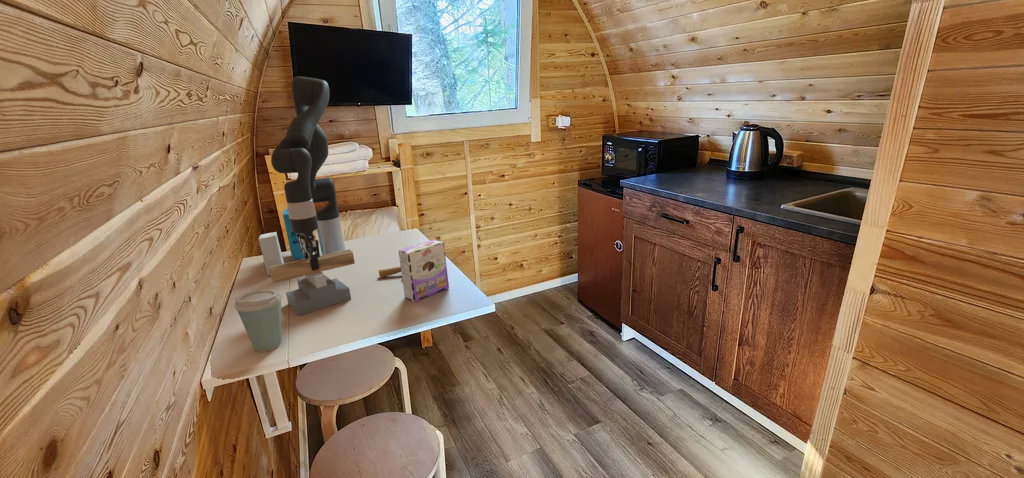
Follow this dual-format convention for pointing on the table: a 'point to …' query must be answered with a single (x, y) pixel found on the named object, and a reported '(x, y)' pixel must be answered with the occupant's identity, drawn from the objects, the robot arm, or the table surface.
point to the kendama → (389, 271)
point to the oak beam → (304, 265)
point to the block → (292, 238)
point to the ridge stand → (317, 293)
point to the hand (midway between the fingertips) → (313, 267)
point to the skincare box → (270, 250)
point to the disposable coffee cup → (261, 318)
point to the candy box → (423, 269)
